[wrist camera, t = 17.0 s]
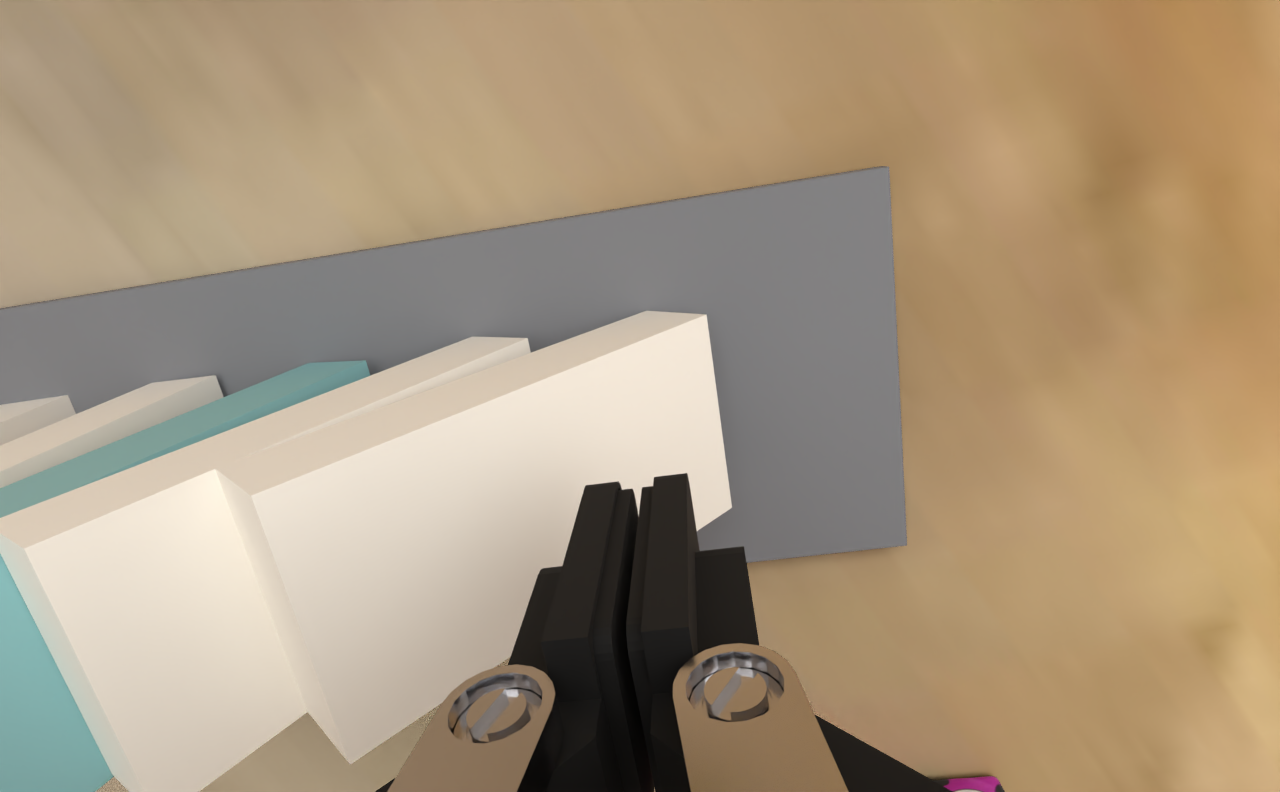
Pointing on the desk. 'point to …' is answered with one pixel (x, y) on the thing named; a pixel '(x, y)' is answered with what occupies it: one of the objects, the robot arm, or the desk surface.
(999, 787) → the candy bar box
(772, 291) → the slate mat
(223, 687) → the domino
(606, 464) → the domino
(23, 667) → the domino
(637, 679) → the robot arm
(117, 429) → the domino
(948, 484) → the desk surface
